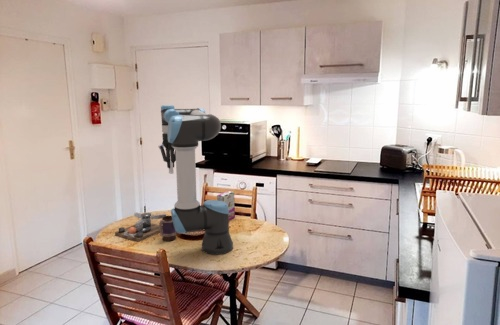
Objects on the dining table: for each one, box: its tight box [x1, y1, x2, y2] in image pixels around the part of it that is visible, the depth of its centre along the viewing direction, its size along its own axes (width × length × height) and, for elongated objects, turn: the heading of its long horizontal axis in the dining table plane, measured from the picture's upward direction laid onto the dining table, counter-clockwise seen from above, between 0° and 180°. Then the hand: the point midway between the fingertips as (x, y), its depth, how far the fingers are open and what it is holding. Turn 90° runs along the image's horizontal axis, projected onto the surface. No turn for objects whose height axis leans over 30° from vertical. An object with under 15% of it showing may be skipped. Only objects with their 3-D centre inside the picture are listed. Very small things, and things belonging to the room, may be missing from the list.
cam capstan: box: [133, 212, 167, 233], centre depth 194 cm, size 19×16×8 cm
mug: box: [158, 215, 177, 242], centre depth 181 cm, size 10×7×12 cm
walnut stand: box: [114, 222, 160, 243], centre depth 192 cm, size 18×20×4 cm
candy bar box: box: [216, 190, 236, 221], centre depth 210 cm, size 11×5×16 cm, turn 147°
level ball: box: [129, 227, 137, 234], centre depth 185 cm, size 4×4×4 cm
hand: (171, 173), depth 204 cm, fingers closed
